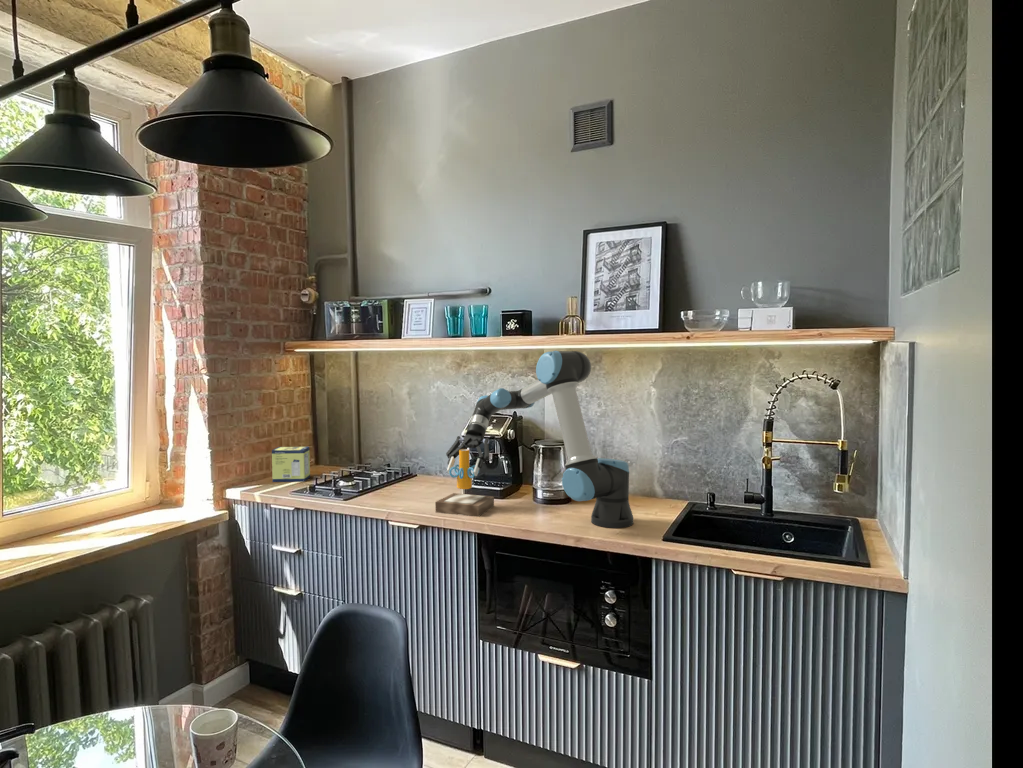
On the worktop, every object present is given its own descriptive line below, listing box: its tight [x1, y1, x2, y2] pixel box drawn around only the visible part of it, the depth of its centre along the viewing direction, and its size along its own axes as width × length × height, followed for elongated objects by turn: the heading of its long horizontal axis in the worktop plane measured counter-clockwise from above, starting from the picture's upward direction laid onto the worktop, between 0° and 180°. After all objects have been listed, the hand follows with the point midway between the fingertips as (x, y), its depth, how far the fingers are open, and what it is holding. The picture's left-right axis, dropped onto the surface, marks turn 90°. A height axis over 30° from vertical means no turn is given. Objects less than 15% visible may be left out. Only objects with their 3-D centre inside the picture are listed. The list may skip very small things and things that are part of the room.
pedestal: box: [435, 492, 495, 517], centre depth 240 cm, size 18×16×4 cm
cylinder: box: [449, 448, 480, 490], centre depth 240 cm, size 12×10×15 cm
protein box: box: [271, 446, 311, 483], centre depth 297 cm, size 10×16×16 cm
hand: (461, 473), depth 237 cm, fingers closed on cylinder, 11 cm apart
